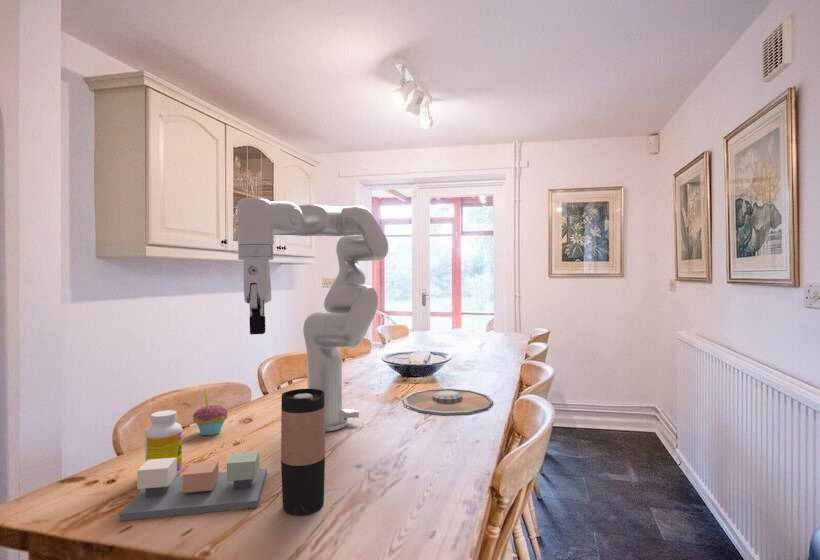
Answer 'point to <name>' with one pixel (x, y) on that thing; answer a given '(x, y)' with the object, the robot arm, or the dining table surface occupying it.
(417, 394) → the shield
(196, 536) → the dining table surface
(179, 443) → the supplement bottle
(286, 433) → the travel mug
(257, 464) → the button sage
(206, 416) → the cupcake
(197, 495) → the board
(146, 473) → the button cream
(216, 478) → the button terracotta
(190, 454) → the dining table surface
